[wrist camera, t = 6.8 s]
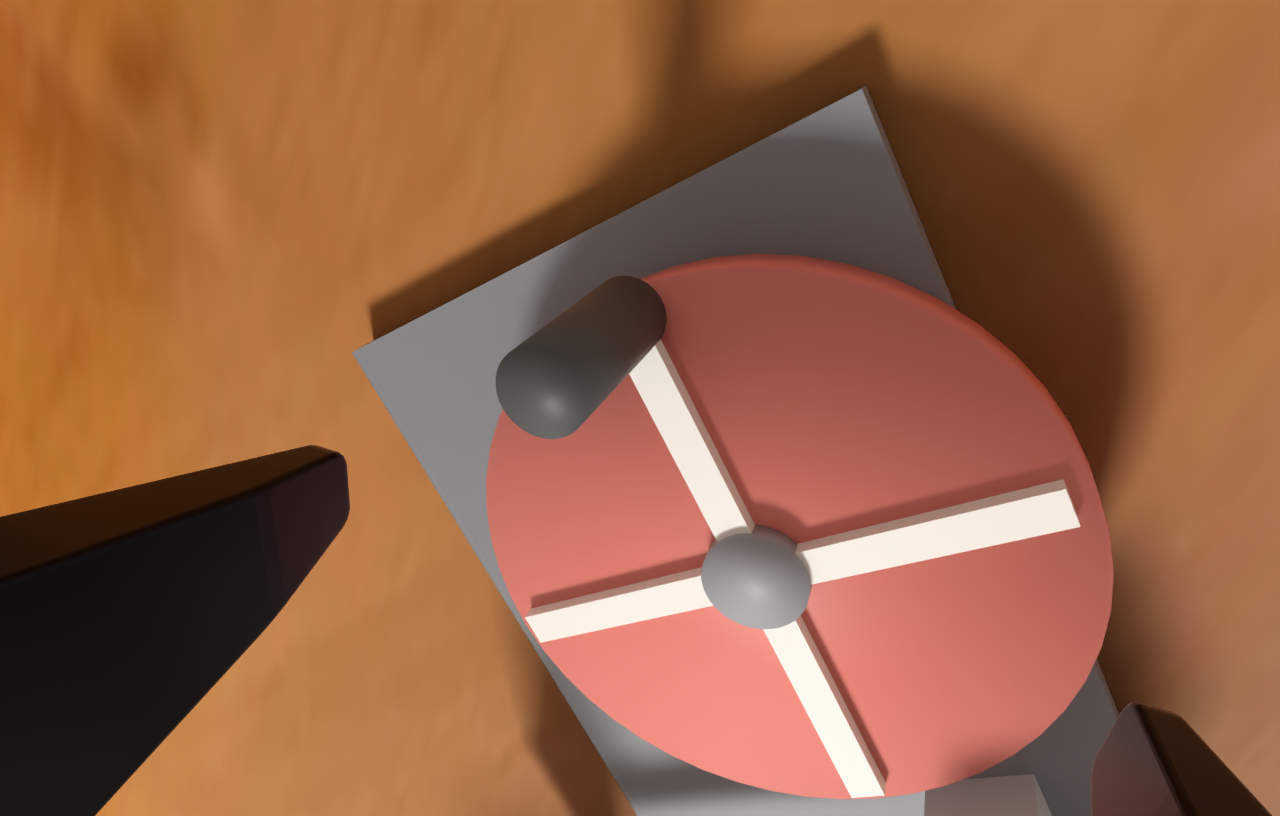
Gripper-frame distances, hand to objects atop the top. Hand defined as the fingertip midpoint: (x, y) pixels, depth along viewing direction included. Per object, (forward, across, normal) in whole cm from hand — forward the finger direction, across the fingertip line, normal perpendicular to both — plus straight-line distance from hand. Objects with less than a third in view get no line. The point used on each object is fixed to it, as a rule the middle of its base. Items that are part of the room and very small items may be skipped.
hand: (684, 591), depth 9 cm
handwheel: (+10, 0, +6) cm, 12 cm away
